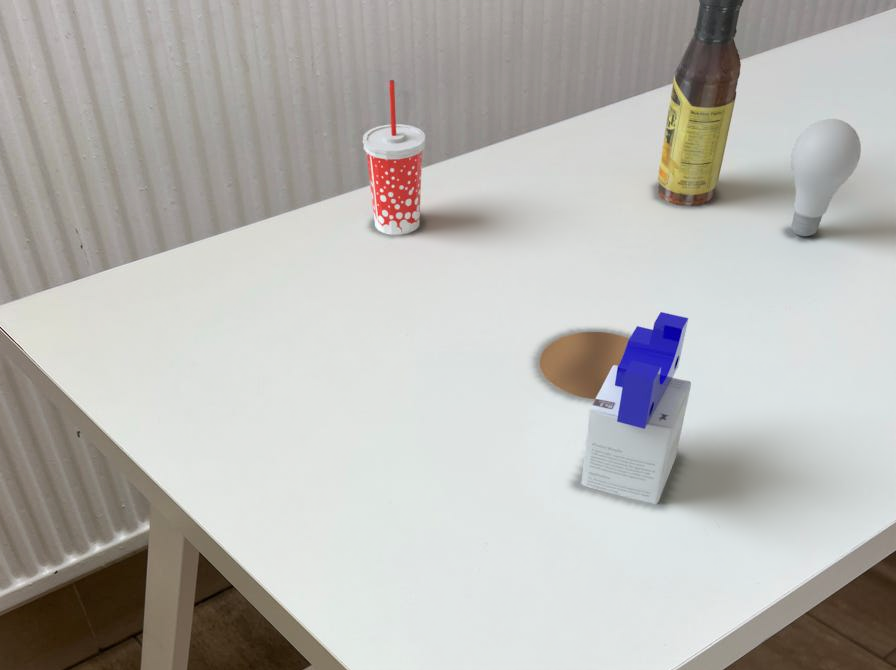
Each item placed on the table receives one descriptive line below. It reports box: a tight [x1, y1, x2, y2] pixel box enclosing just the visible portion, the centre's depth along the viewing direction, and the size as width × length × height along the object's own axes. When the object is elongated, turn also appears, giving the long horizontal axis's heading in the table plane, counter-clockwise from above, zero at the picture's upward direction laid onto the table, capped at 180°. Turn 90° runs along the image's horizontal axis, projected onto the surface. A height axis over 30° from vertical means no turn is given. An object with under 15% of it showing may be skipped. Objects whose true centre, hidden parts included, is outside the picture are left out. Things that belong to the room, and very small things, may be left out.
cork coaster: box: [538, 331, 630, 400], centre depth 84 cm, size 10×10×1 cm
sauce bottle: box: [657, 0, 744, 207], centre depth 96 cm, size 6×6×20 cm
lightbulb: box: [790, 118, 862, 237], centre depth 93 cm, size 6×6×11 cm
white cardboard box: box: [581, 365, 692, 505], centre depth 72 cm, size 6×6×7 cm
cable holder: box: [615, 311, 689, 429], centre depth 68 cm, size 8×4×4 cm, turn 154°
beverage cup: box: [362, 79, 426, 236], centre depth 96 cm, size 6×6×14 cm
